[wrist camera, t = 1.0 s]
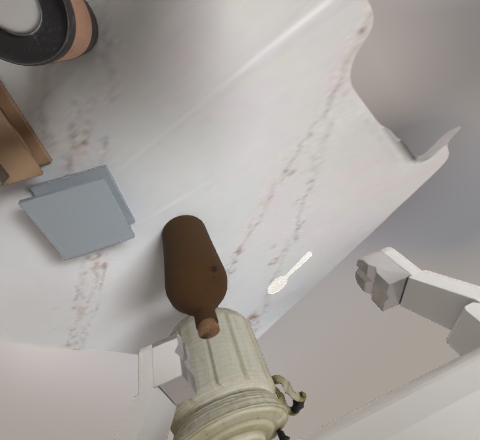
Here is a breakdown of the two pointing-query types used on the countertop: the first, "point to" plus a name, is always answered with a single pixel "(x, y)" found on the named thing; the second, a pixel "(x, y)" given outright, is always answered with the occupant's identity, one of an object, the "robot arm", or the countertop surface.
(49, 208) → the stand
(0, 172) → the block
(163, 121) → the countertop surface
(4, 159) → the stand
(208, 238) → the olive oil
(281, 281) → the spoon
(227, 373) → the samovar
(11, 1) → the travel mug
